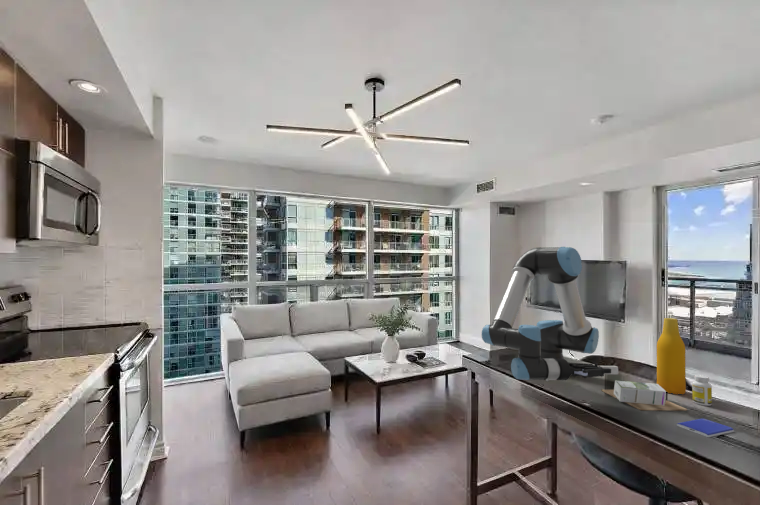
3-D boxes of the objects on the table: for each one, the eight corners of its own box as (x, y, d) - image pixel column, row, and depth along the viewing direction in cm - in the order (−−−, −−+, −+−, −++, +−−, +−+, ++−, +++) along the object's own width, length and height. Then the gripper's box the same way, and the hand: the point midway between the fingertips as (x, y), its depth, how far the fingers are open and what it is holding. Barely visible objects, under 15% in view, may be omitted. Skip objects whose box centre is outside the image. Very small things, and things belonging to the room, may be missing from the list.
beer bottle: (687, 391, 149) (686, 319, 150) (684, 396, 142) (684, 321, 143) (658, 385, 155) (658, 316, 156) (654, 390, 149) (654, 318, 150)
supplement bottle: (707, 402, 137) (707, 375, 137) (715, 407, 132) (714, 379, 132) (689, 400, 138) (689, 373, 139) (696, 404, 133) (696, 377, 134)
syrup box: (619, 402, 133) (665, 407, 130) (621, 387, 132) (667, 391, 129) (613, 393, 138) (656, 398, 135) (614, 379, 137) (658, 383, 134)
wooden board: (640, 410, 126) (640, 408, 126) (601, 390, 146) (601, 389, 146) (687, 410, 127) (687, 409, 127) (642, 391, 147) (642, 389, 147)
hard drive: (701, 417, 119) (676, 422, 114) (733, 428, 111) (708, 433, 107) (701, 422, 119) (676, 427, 114) (733, 433, 111) (708, 439, 107)
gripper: (545, 374, 141) (604, 375, 143) (564, 385, 128) (629, 386, 130) (546, 354, 142) (605, 355, 143) (565, 363, 129) (629, 364, 130)
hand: (616, 370), depth 136 cm, fingers closed
